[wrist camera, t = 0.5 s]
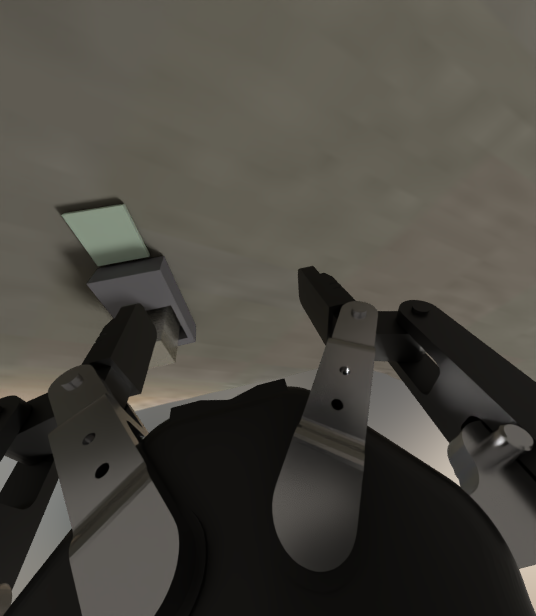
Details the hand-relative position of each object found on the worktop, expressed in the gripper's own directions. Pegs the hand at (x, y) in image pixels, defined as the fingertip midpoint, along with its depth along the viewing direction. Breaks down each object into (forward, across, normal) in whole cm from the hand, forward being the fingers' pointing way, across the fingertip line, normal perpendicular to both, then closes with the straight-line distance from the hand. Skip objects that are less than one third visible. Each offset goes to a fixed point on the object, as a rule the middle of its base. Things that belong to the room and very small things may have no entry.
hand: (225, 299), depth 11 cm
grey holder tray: (+19, +12, +10) cm, 25 cm away
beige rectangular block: (+19, +12, +12) cm, 25 cm away
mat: (+18, +12, 0) cm, 22 cm away
